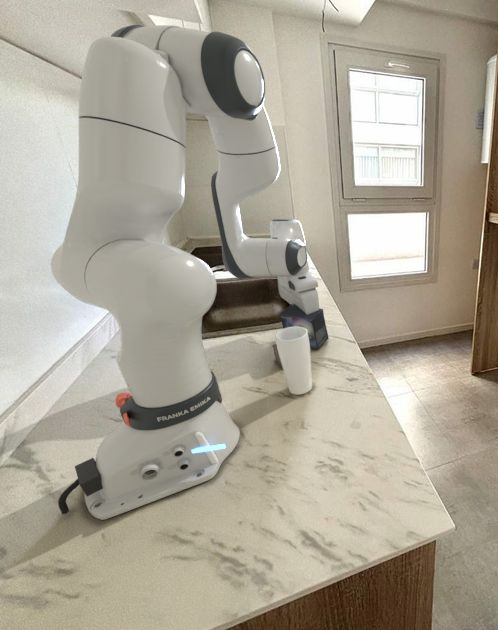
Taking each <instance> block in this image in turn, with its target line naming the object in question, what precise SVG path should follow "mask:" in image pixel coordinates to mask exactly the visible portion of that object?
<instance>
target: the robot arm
mask: <svg viewBox="0 0 498 630" xmlns="http://www.w3.org/2000/svg"><path fill="white" fill-rule="evenodd" d="M79 86H80V87H79V94H78V95H79V97H78V176H77V178H78V179H77V187H76V194H75V198H74V202H73V206H72V210H71V213H70V216H69V219H68V224H67V227H66V230H65V235H64V239H63V242H62V243H61V244H60V246H58V247H57V248H56V250H55V251H54V253H53V255H52V257H51V260H50V270H51V274H52V276H53V278H54V279H55V281H56V282H57V283H58V284H59V285H60V287H62V289H63V290H64V291H66V292H67V293H68V294H70V295H71V296H72V297H74V298H75V299H77V300H78V301H80V302H83V303H85V304H87V305H90V306H93V307H96V308H99V309H103V310H106V311H108V312H109V313H110V315H112V317H113V318H114V319H115V321H116V323H117V325H118V328H119V334H120V349H119V350H118V351H117V353H116V357H115V360H116V364H117V366H118V369H119V371H120V373H121V375H122V378H123V381H124V382H125V385H126V387H127V389H128V392H129V393H128V392H124V391H123V392H120V393H118V394H116V397H115V398H114V400H115V406H116V407H117V408H118V409H119V414H120V416H121V419H122V421H121V422H120V423H119V424H118V425H117V426H116V427H115V428H114V429H113V430H112V431H111V432H110V433H109V434H108V435H107V436H105V437H104V439H103V440H102V441H101V442H100V444H99V446H98V449H97V452H96V456H95V458H94V457H91V458H88V459H87V460H85V461H83V462H81V463H79V464H76V465H74V469H75V472H76V476H77V478H76V479H75V480H74V482H72V483H71V484H70V485H69V486H68V487H67V488H66V489H65V490H64V491H63V492H61V494H60V496H59V498H58V500H57V503H58V505H57V506H58V509H59V510H60V512H61V515H67V514H68V513H69V512H70V509H69V506H68V503H67V499H68V496H69V495H70V494H71V493H72V492H73V491H74V490H75V489H76V488H77V487H78V486H80V488H81V490H82V491H83V493H84V502H85V505H86V508H87V510H88V512H89V513H90V515H91V516H92V517H94V519H97V520H101V521H103V520H104V521H105V520H108V519H111V518H113V517H116V516H119V515H122V514H124V513H127V512H129V511H132V510H134V509H137V508H140V507H143V506H145V505H147V504H150V503H153V502H155V501H158V500H161V499H163V498H165V497H168V496H172V495H174V494H176V493H179V492H181V491H184V490H186V489H190V488H192V487H195V486H197V485H200V484H203V483H206V482H208V481H210V480H211V479H213V478H214V477H216V475H217V473H218V471H219V470H220V467H221V465H222V463H223V462H224V461H225V460H226V459H227V458H228V457H229V456H230V454H231V453H232V452H233V451H234V449H235V448H236V447H237V445H238V444H239V441H240V438H241V437H240V436H241V431H240V427H239V426H238V425H237V424H236V423H235V422H234V419H232V417H231V416H230V414H229V413H228V411H227V409H226V406H225V405H224V403H223V397H222V395H223V394H222V390H221V387H220V384H219V381H218V380H219V379H218V378H217V376H216V375H215V373H214V371H213V370H211V367H210V363H209V360H208V357H207V354H206V349H205V346H204V342H203V334H202V333H203V332H202V329H203V328H202V326H203V325H202V324H203V317H204V316H205V314H206V313H208V311H209V310H210V309H211V307H212V306H213V304H214V302H215V300H216V296H217V293H218V292H217V291H218V285H217V278H216V276H215V274H214V272H213V270H212V269H211V267H210V266H209V264H207V263H206V262H205V261H204V260H202V259H201V258H199V257H197V256H195V255H193V254H191V253H189V252H188V251H185V250H183V249H181V248H179V247H176V246H174V245H170V244H164V243H163V239H164V236H165V233H166V230H167V227H168V225H169V223H170V221H171V219H172V218H173V216H174V215H175V214H176V213H177V212H178V211H179V210H181V208H182V207H183V205H184V202H185V197H186V196H185V194H186V170H187V169H186V168H187V164H186V163H187V120H186V115H187V113H189V114H192V115H195V116H199V117H205V118H206V119H207V123H208V126H209V127H208V128H209V131H210V135H211V137H212V141H213V143H214V147H215V149H216V150H215V151H216V153H217V157H218V170H217V171H215V172H214V173H213V174H212V176H211V180H210V181H211V182H210V190H211V197H212V203H213V208H214V212H215V217H216V223H217V228H218V232H219V233H218V234H219V237H220V241H221V242H220V243H221V257H222V263H223V266H224V268H225V270H227V271H228V272H229V273H230V274H231V275H232V276H234V277H235V278H237V279H238V280H239V279H240V280H241V279H242V280H243V279H252V278H253V279H254V278H276V277H277V278H276V279H277V288H278V295H279V296H280V298H281V299H283V300H284V301H286V302H287V303H288V304H289V305H291V304H295V305H297V306H298V307H299V308H300V309H301V310H303V311H304V312H305V314H310V313H313V312H316V311H318V310H319V308H320V300H319V293H318V290H317V288H319V282H318V280H317V278H316V277H315V276H314V275H313V273H312V271H311V270H310V265H309V261H308V252H307V243H306V237H305V234H304V229H303V227H302V223H301V222H300V220H297V219H294V218H292V219H291V218H274V219H272V220H270V221H269V237H267V238H266V237H258V238H257V237H249V236H247V235H245V233H244V231H243V224H242V217H241V212H240V203H241V202H242V201H244V200H246V199H249V198H252V197H254V196H256V195H259V194H261V193H263V192H265V191H266V190H268V189H269V188H270V187H271V186H273V185H274V184H275V183H276V181H277V180H278V177H279V175H280V172H281V163H280V162H281V161H280V155H279V151H278V145H277V142H276V138H275V134H274V131H273V128H272V125H271V121H270V119H269V116H268V113H267V111H266V108H265V106H264V102H265V99H266V98H265V97H266V81H265V76H264V72H263V68H262V66H261V64H260V62H259V60H258V58H257V56H256V55H255V54H254V52H253V51H252V50H251V49H250V47H249V45H247V43H246V42H244V40H242V39H240V38H238V37H236V36H234V35H232V34H231V35H230V34H228V33H224V32H221V31H211V32H210V31H205V30H201V29H195V28H187V27H182V26H179V25H167V24H166V25H165V24H163V25H161V24H160V25H147V26H143V25H138V24H132V25H127V26H123V27H121V28H118V29H117V30H115V31H113V33H112V34H111V35H109V36H102V37H100V38H96V39H95V40H94V41H93V42H92V43H91V44H90V45H89V47H88V51H87V54H86V58H85V60H84V65H83V69H82V75H81V80H80V85H79Z"/></svg>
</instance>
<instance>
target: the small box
mask: <svg viewBox="0 0 498 630" xmlns="http://www.w3.org/2000/svg"><path fill="white" fill-rule="evenodd" d="M278 315H279V318H280V322H281V325H282V329H284V328H287V327H294V326H298V327H303V328H305V329H307V331H308V336H309V342H310V350H311V349H312V350H317V351H319V350H320V348H321V347H322V346H323V345H325V343H326V342H327V341H328V340H329V334H328V329H327V324H326V320H325V319H326V318H325V314H324V309H323V308H320V307H319V310H318V311H316V312H313V313H310V314H305V312H304V311H303V310H301V309H300V308H299V307H298V306H297V305H295V304H289V306H287V307H286V308H284V309H283V310H282V311H281V312H280V313H279V314H278Z"/></svg>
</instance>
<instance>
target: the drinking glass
mask: <svg viewBox="0 0 498 630" xmlns="http://www.w3.org/2000/svg"><path fill="white" fill-rule="evenodd" d="M274 337H275V344H277V350H278V354H279V357H280V360H281V364H282V367H283V368H282V367H281V368H282V370H283V374H284V377H285V380H286V384H287V387H288V388H287V389H288V391H289V393H291V394H292V395H296V396H299V395H300V396H301V395H305V394H307V393H308V392H309V391H311V390H312V388H313V378H312V377H313V376H312V359H311V358H312V357H311V356H312V354H311V348H310V342H309V336H308V331H307V329H305V328H303V327H298V326H294V327H287V328H284V329H283V328H282V329H280V330H278V331H277V332H276V334H275V336H274Z"/></svg>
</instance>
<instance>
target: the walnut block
mask: <svg viewBox="0 0 498 630" xmlns="http://www.w3.org/2000/svg"><path fill="white" fill-rule="evenodd" d="M272 349H273V353H274V354H273V355H274V359H275V362H276V363H277V364H278V365H279V366H280V367H281V368H282V369H283V367H282V364H281V360H280V357H279V354H278V350H277V344H276V343H275V344H272Z"/></svg>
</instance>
